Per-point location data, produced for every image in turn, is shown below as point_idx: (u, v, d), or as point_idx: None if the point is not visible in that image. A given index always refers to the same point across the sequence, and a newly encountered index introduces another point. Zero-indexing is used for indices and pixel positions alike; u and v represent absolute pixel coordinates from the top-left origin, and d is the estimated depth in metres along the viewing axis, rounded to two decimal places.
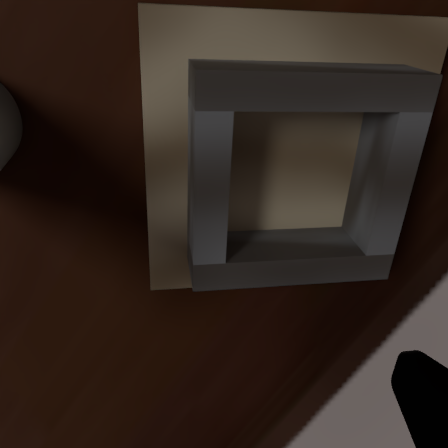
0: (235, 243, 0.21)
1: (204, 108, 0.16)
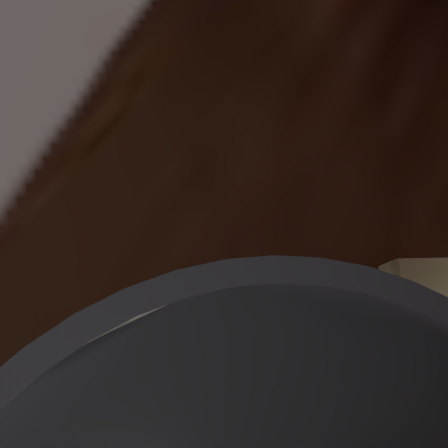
0: None
1: None
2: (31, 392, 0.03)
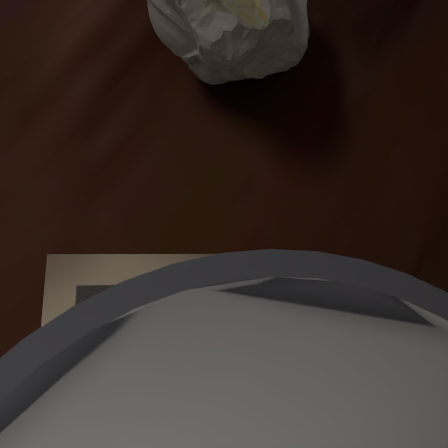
0: None
1: None
2: (30, 383, 0.03)
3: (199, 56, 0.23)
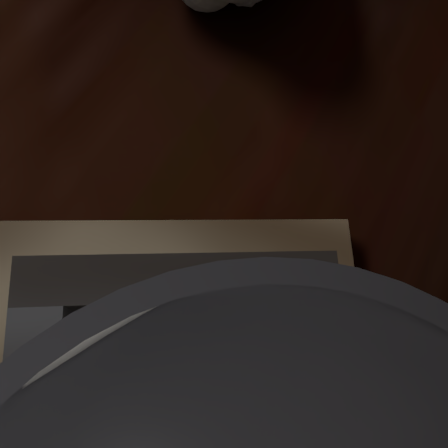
0: None
1: (21, 303, 0.12)
2: (28, 390, 0.03)
3: None
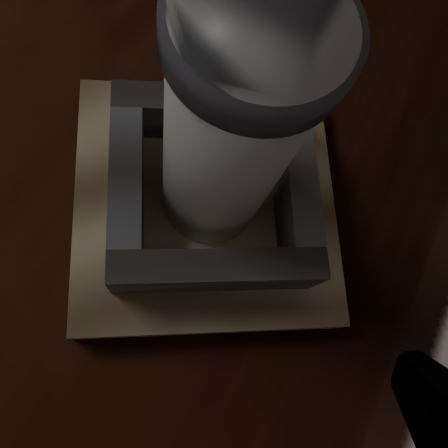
0: None
1: (117, 104, 0.20)
2: None
3: None
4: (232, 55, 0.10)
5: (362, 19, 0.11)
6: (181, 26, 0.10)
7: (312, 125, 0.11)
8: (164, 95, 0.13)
